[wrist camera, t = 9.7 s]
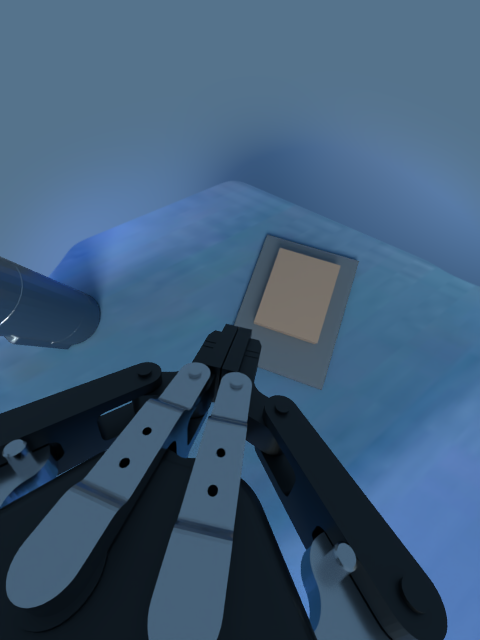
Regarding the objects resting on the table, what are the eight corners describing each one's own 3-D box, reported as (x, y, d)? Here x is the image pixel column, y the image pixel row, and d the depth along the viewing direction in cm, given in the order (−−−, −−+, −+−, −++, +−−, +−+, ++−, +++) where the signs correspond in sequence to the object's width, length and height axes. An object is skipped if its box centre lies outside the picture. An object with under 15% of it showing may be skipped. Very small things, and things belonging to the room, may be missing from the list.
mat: (320, 389, 37) (321, 389, 36) (223, 354, 39) (223, 354, 38) (356, 263, 40) (358, 261, 40) (267, 237, 42) (267, 234, 42)
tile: (317, 343, 35) (340, 265, 38) (253, 321, 37) (280, 247, 39) (314, 344, 37) (336, 270, 40) (253, 323, 39) (278, 253, 41)
